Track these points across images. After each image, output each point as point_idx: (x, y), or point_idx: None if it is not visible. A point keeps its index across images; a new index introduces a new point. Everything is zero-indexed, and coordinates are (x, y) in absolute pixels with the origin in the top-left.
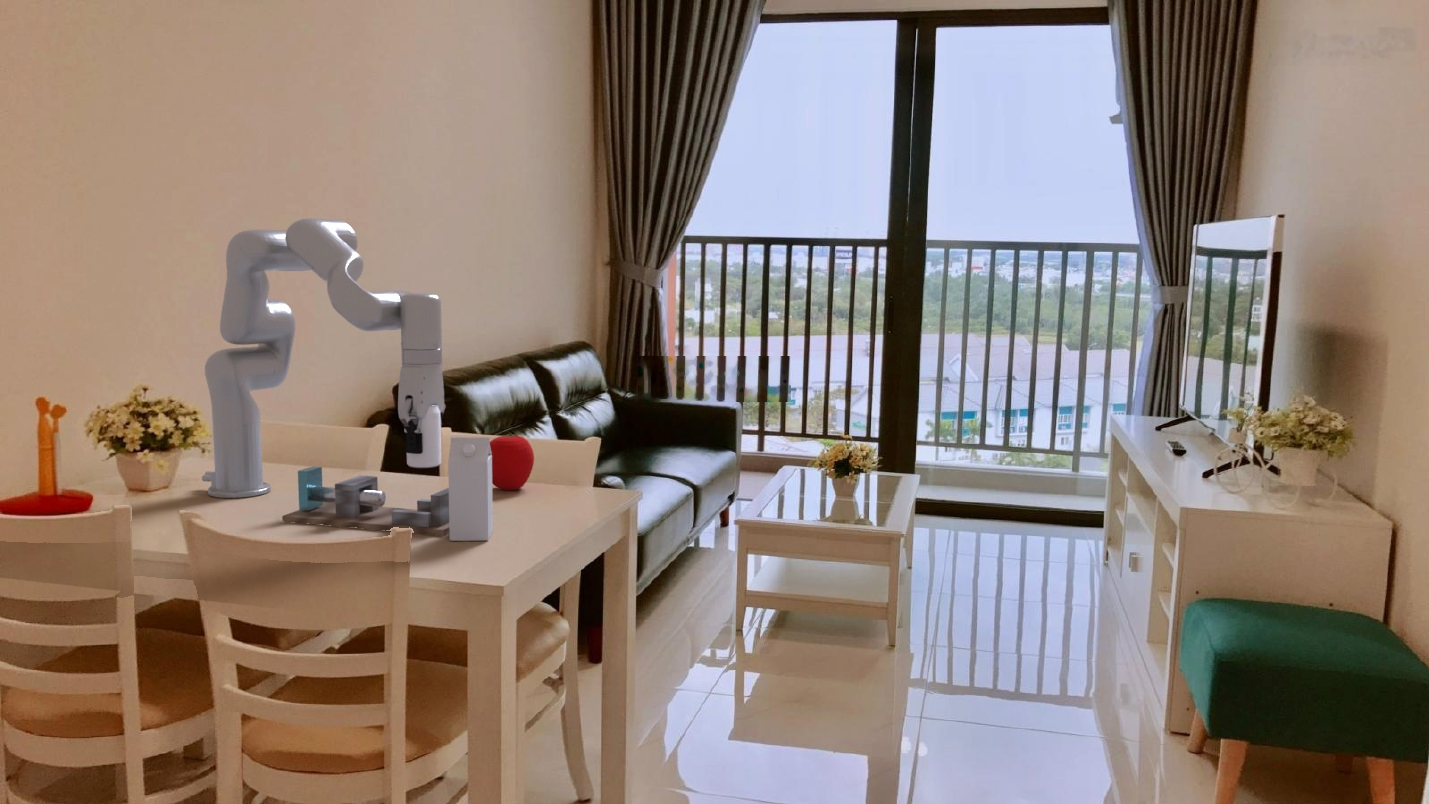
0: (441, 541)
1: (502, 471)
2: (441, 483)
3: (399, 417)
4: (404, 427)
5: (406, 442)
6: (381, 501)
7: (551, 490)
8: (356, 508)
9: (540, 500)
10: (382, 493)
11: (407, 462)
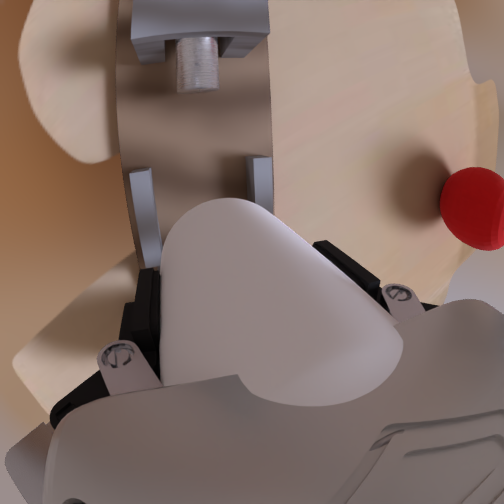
0: (119, 301)
1: (454, 213)
2: (451, 84)
3: (8, 456)
4: (73, 393)
5: (136, 295)
6: (196, 91)
7: (443, 250)
8: (151, 57)
9: (403, 271)
10: (204, 87)
11: (174, 226)
